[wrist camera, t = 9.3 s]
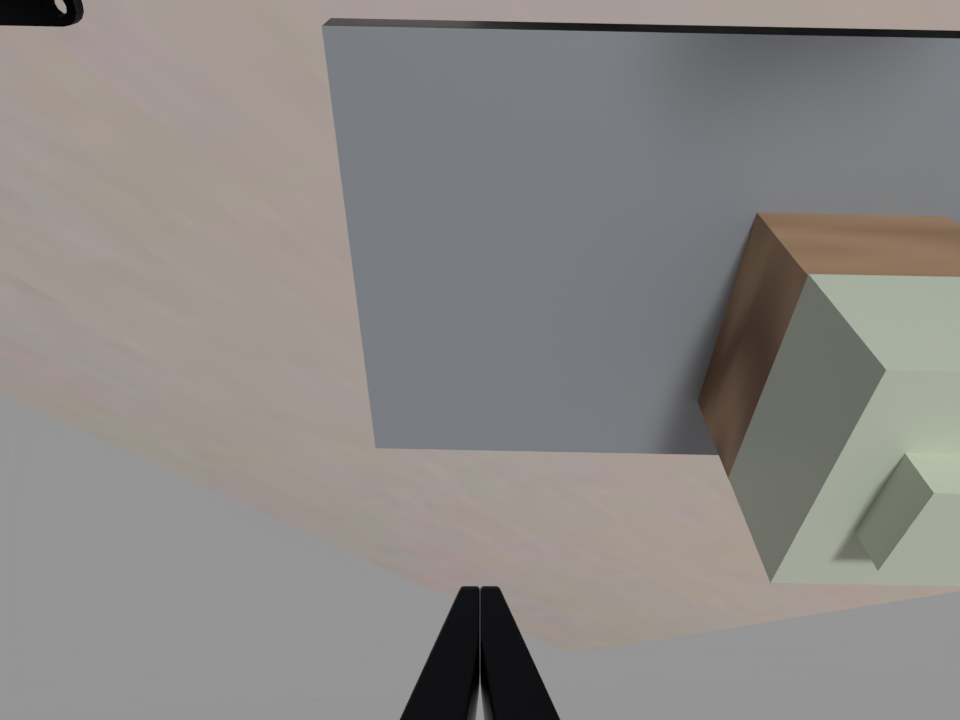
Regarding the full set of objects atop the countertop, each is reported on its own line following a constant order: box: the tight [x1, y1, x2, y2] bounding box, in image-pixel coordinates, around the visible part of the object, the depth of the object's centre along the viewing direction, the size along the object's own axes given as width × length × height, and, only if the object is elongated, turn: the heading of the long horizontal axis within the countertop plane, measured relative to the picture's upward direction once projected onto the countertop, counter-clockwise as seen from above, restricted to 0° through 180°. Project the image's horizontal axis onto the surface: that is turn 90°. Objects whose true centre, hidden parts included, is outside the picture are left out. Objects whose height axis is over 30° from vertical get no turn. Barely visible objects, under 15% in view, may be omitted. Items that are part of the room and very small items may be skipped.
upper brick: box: [728, 274, 960, 587], centre depth 17 cm, size 8×6×5 cm
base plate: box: [322, 18, 960, 455], centre depth 22 cm, size 24×16×1 cm, turn 89°
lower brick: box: [698, 213, 960, 480], centre depth 20 cm, size 8×6×5 cm
